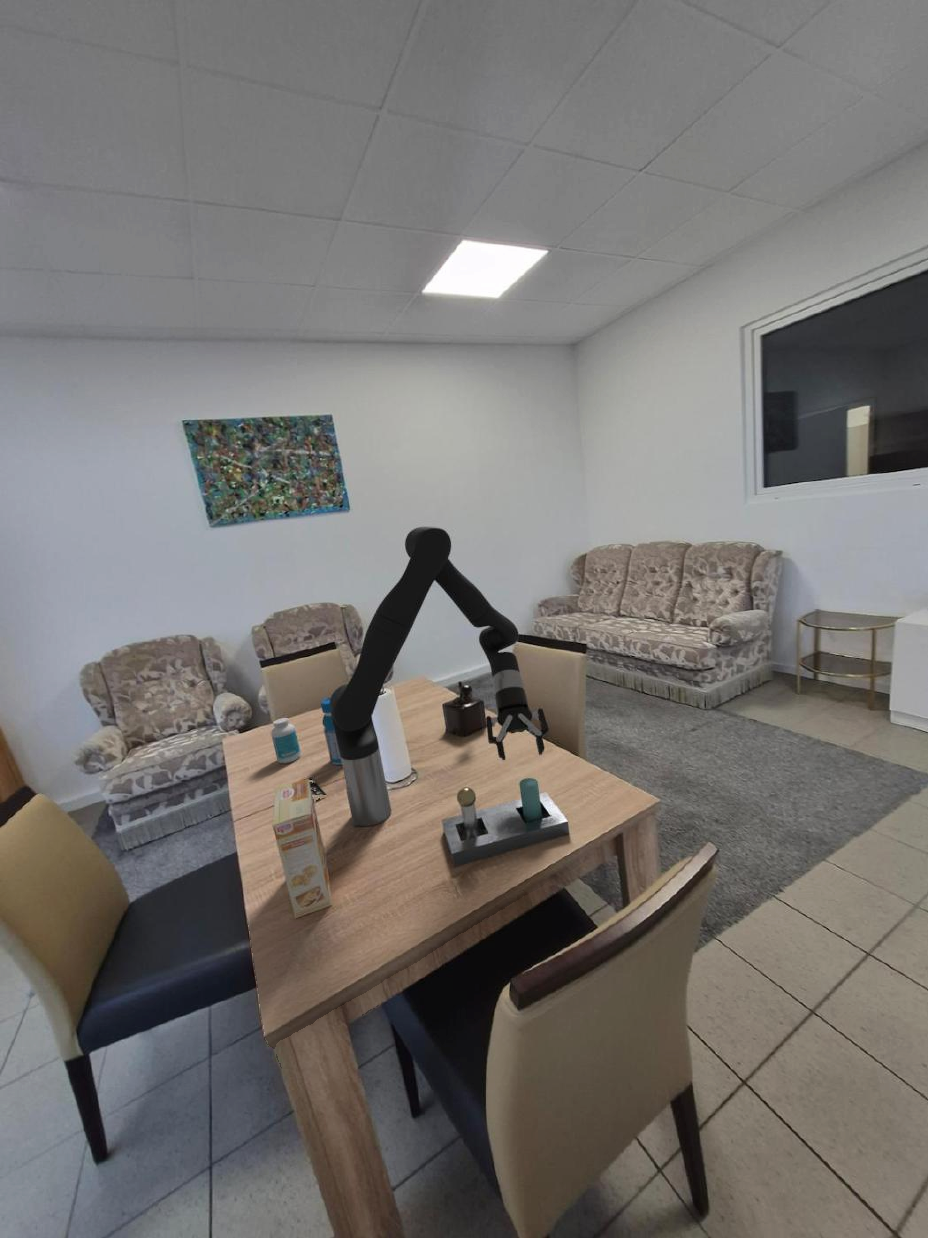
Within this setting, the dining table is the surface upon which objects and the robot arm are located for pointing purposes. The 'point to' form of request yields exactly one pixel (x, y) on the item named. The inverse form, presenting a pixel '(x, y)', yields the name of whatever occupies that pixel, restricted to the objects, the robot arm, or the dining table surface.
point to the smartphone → (318, 789)
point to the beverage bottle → (330, 733)
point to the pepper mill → (464, 713)
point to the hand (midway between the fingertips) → (522, 756)
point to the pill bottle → (285, 741)
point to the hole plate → (498, 828)
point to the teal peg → (530, 800)
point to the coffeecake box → (301, 848)
